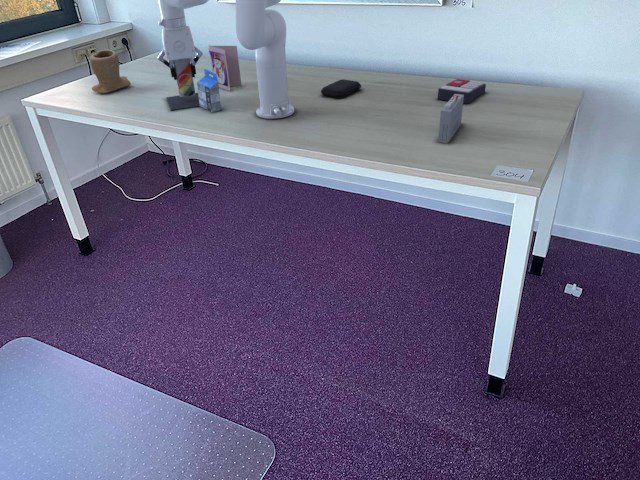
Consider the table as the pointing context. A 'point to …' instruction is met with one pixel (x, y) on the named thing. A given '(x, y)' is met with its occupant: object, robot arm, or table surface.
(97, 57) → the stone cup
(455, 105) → the cassette player
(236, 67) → the greeting card
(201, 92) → the label tape box
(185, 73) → the lotion bottle
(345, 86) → the carrying case
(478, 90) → the grey and red box
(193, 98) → the mat
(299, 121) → the table surface
